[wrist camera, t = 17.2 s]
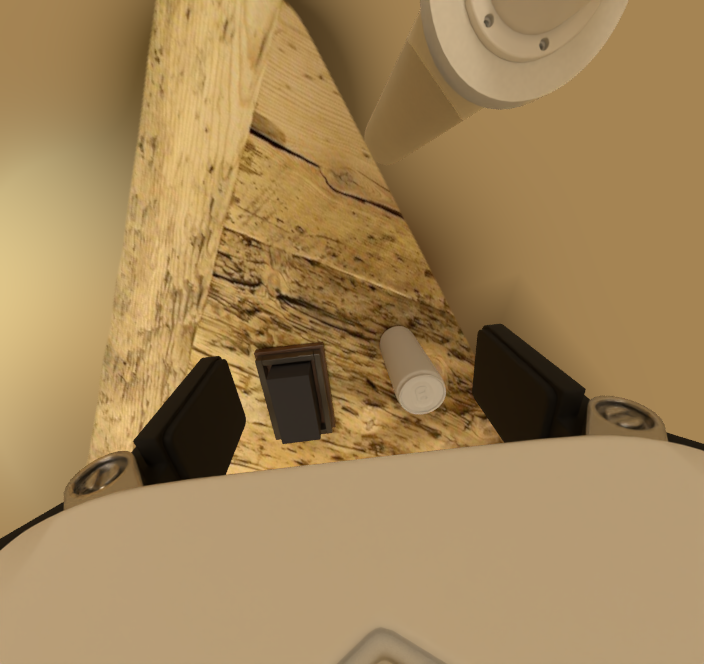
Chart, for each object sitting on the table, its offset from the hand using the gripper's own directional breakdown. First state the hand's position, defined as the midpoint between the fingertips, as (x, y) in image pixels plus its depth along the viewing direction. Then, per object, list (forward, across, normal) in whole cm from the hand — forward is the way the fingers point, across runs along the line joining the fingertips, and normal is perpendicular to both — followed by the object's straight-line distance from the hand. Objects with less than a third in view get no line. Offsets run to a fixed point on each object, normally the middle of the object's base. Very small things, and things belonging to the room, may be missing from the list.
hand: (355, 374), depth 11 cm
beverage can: (+25, -6, +12) cm, 28 cm away
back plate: (+24, +8, +18) cm, 31 cm away
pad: (+23, +8, +18) cm, 30 cm away
